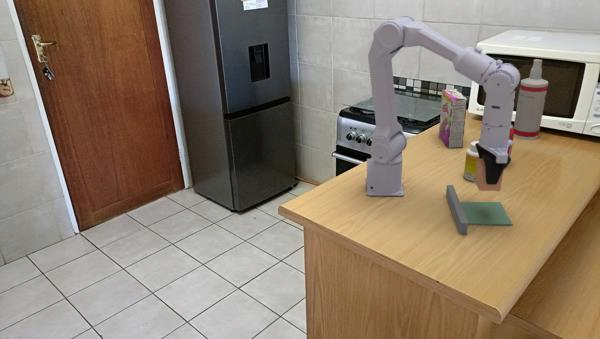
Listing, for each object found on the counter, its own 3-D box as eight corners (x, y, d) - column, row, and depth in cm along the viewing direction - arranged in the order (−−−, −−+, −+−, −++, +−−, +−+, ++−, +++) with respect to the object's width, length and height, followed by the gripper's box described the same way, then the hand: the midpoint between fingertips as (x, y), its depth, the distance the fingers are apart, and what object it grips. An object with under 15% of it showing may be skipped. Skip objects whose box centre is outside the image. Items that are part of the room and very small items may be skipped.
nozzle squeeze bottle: (507, 133, 148) (518, 58, 137) (526, 130, 149) (539, 56, 139) (523, 141, 141) (536, 63, 130) (543, 137, 143) (558, 60, 132)
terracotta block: (479, 190, 99) (482, 166, 97) (474, 181, 103) (477, 158, 101) (500, 190, 99) (503, 166, 96) (494, 181, 103) (498, 158, 100)
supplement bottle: (476, 184, 117) (481, 149, 113) (459, 177, 122) (463, 143, 117) (489, 178, 120) (494, 143, 116) (472, 171, 124) (476, 138, 120)
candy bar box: (437, 136, 149) (441, 89, 142) (452, 135, 149) (456, 88, 142) (447, 149, 139) (451, 99, 132) (463, 148, 139) (468, 98, 132)
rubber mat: (466, 224, 101) (466, 223, 100) (457, 202, 109) (458, 201, 109) (512, 225, 99) (512, 224, 99) (500, 203, 108) (500, 201, 108)
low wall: (459, 234, 97) (461, 223, 96) (445, 195, 113) (446, 184, 112) (466, 234, 97) (468, 223, 96) (451, 195, 113) (452, 184, 112)
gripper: (527, 134, 87) (517, 194, 93) (506, 111, 100) (498, 165, 106) (490, 135, 88) (482, 193, 94) (473, 112, 101) (467, 165, 107)
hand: (488, 178), depth 100 cm, fingers closed on terracotta block, 4 cm apart
